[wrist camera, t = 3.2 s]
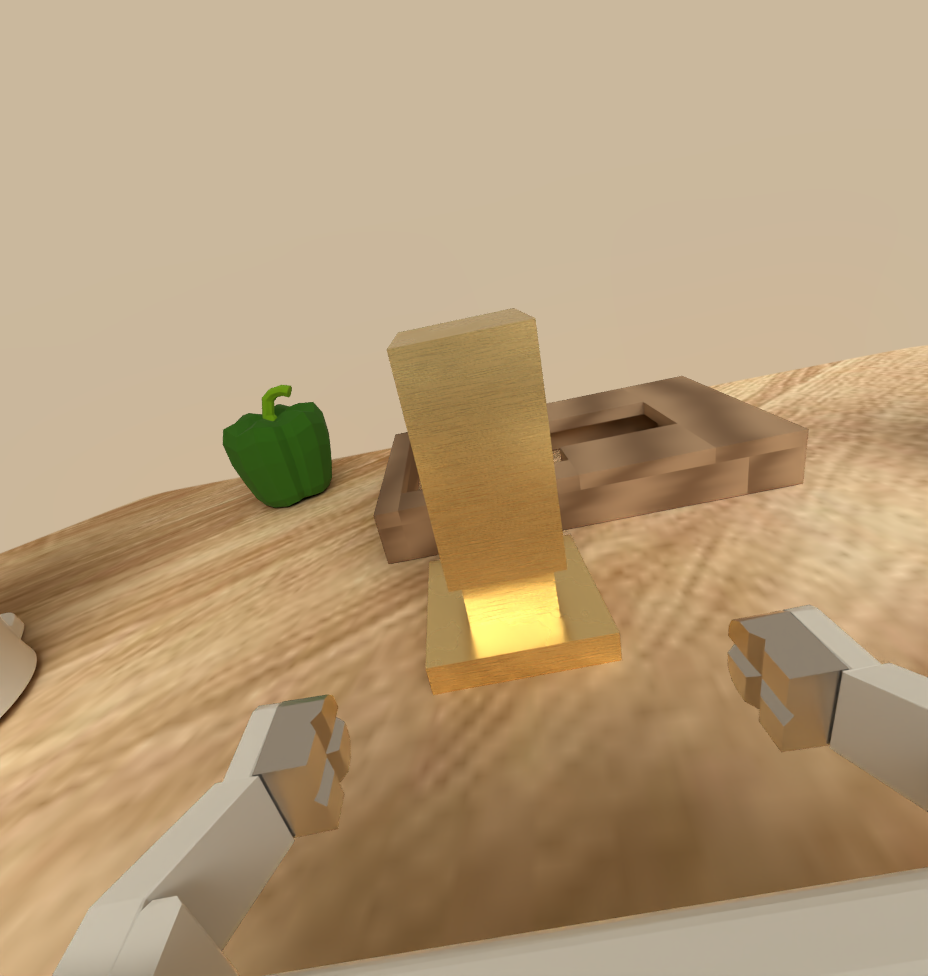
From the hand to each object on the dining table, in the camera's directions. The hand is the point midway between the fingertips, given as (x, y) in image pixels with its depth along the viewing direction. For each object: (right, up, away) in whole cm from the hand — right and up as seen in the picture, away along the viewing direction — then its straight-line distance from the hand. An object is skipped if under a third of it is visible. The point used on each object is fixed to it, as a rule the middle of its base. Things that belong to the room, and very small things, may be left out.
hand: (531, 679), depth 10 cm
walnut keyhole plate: (+6, +5, +27) cm, 29 cm away
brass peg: (+1, -2, +14) cm, 14 cm away
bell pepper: (-17, +3, +35) cm, 39 cm away
